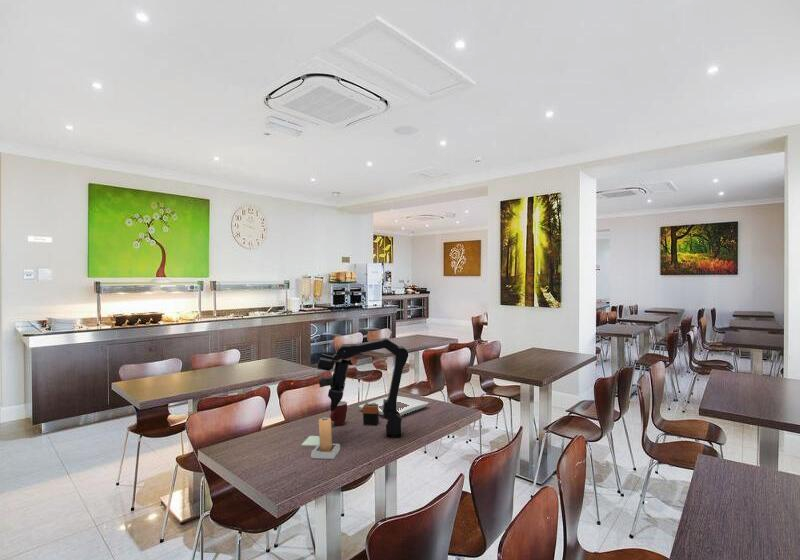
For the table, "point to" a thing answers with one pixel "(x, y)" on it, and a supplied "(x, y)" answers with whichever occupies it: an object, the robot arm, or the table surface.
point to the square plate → (412, 403)
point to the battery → (370, 414)
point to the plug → (325, 434)
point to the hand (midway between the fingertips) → (333, 407)
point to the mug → (339, 413)
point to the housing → (325, 452)
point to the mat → (311, 441)
